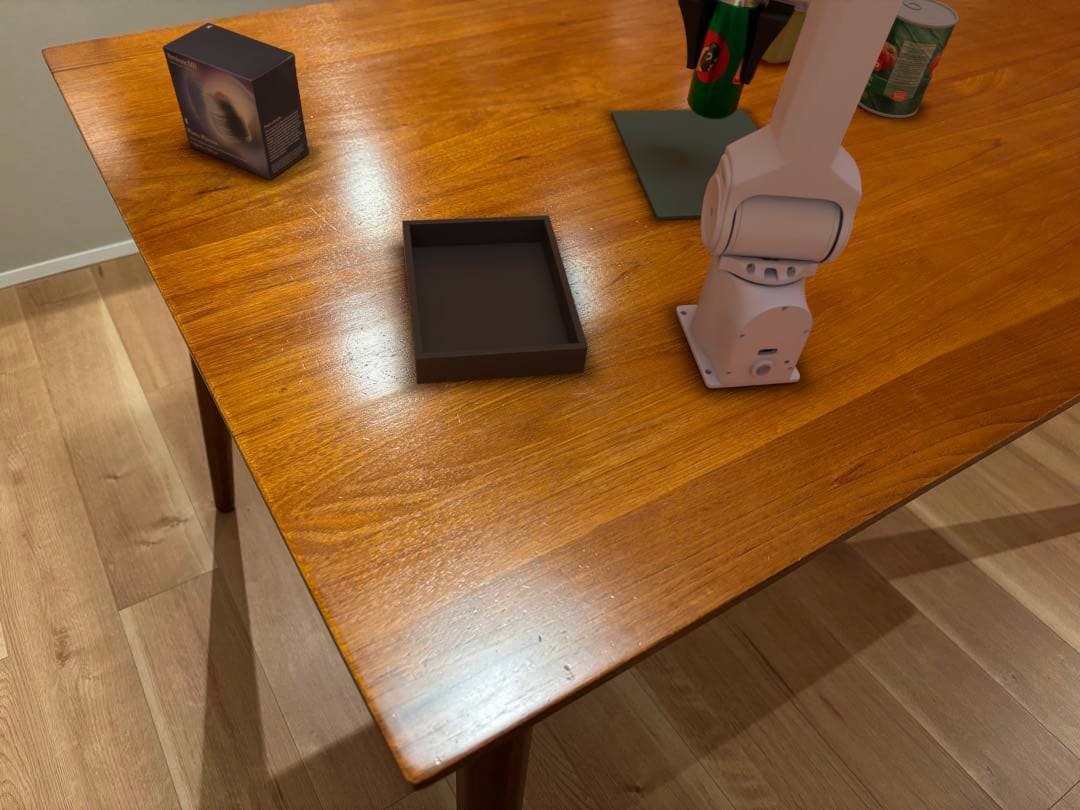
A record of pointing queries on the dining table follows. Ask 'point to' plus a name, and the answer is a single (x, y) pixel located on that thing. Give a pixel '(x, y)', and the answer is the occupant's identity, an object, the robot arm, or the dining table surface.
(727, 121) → the mat
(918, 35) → the canned tomato
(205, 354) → the dining table surface
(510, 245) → the tray
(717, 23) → the soda can
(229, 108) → the small box
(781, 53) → the plant pot
